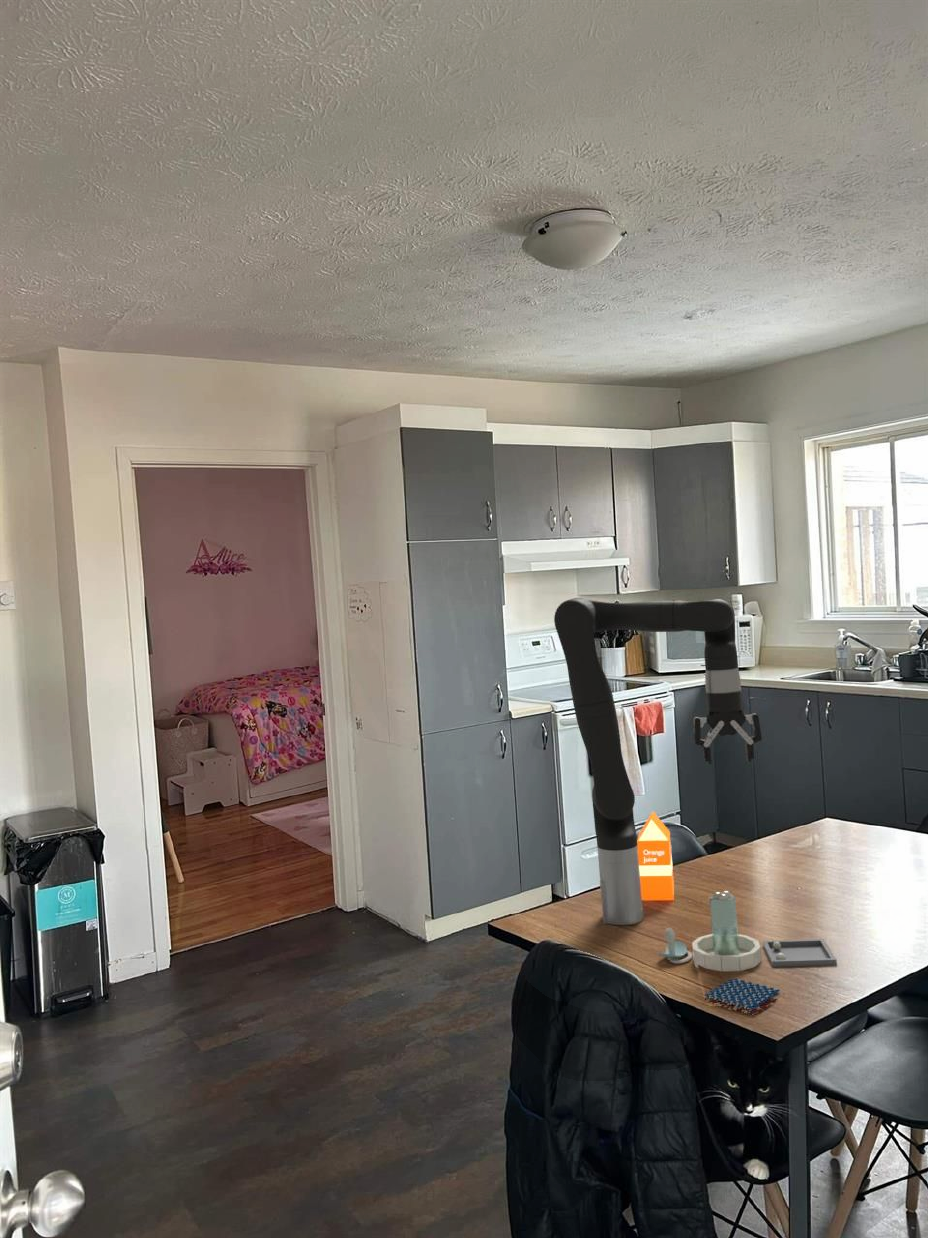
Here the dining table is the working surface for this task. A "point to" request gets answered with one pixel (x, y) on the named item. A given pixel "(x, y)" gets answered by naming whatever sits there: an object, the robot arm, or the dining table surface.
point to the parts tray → (799, 953)
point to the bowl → (709, 960)
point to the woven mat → (743, 996)
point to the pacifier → (675, 948)
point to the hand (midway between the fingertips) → (729, 762)
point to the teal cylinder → (724, 924)
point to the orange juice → (655, 860)
